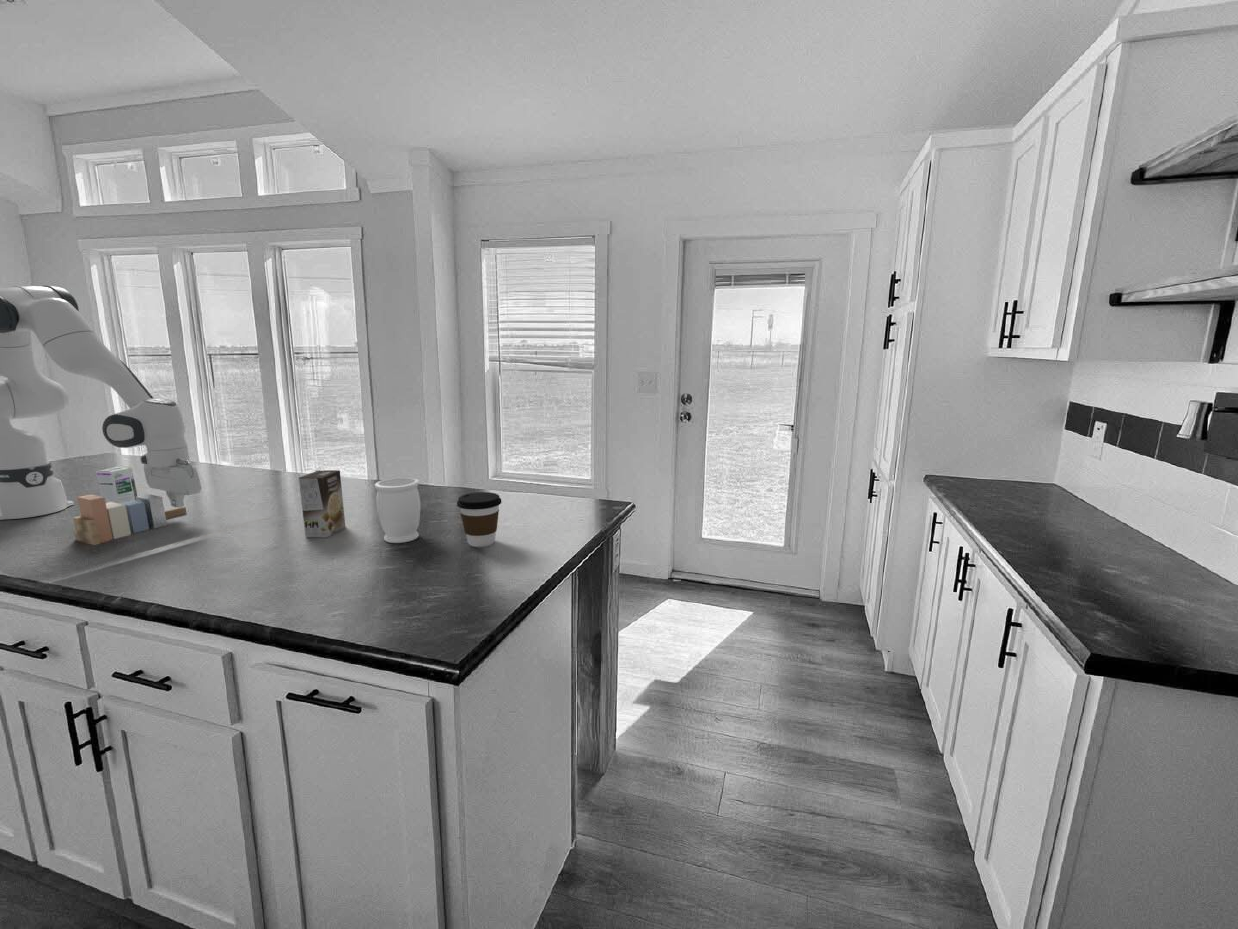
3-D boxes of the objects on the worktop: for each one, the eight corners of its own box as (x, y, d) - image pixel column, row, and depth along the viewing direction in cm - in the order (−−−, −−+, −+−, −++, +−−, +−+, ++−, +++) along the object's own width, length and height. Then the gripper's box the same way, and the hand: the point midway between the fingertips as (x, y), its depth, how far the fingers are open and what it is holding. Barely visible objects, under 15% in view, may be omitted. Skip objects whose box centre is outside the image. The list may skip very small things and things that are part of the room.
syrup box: (121, 520, 163) (112, 471, 160) (105, 519, 164) (95, 470, 161) (141, 515, 168) (132, 466, 165) (125, 513, 170) (116, 466, 167)
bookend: (140, 525, 156) (135, 496, 154) (153, 522, 158) (148, 494, 156) (154, 528, 153) (149, 499, 151) (167, 525, 155) (162, 496, 154)
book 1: (86, 538, 145) (77, 497, 143) (99, 535, 148) (91, 494, 145) (99, 542, 142) (90, 500, 140) (112, 539, 145) (104, 497, 143)
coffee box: (328, 538, 149) (322, 477, 145) (304, 537, 149) (297, 477, 145) (346, 526, 158) (340, 469, 154) (323, 526, 158) (317, 469, 154)
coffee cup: (450, 547, 142) (447, 500, 139) (475, 533, 152) (472, 489, 149) (488, 552, 138) (485, 505, 135) (511, 538, 148) (509, 493, 145)
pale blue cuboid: (123, 530, 152) (118, 503, 150) (138, 526, 155) (133, 500, 153) (134, 533, 149) (128, 505, 148) (149, 529, 152) (144, 502, 151)
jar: (431, 535, 151) (427, 479, 148) (401, 547, 142) (396, 489, 138) (401, 529, 155) (396, 475, 152) (370, 541, 146) (365, 484, 143)
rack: (76, 543, 145) (70, 517, 143) (185, 516, 167) (181, 493, 165) (95, 548, 141) (89, 521, 140) (203, 520, 163) (199, 496, 162)
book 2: (99, 535, 148) (93, 505, 146) (116, 531, 151) (110, 501, 149) (114, 539, 145) (108, 508, 143) (131, 534, 148) (125, 505, 146)
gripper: (203, 459, 155) (211, 508, 158) (162, 453, 164) (170, 499, 167) (177, 463, 150) (186, 514, 153) (136, 457, 159) (145, 505, 162)
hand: (177, 506), depth 160 cm, fingers closed
